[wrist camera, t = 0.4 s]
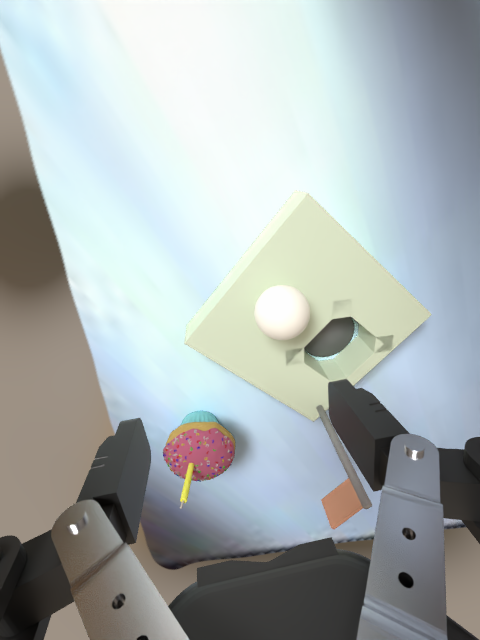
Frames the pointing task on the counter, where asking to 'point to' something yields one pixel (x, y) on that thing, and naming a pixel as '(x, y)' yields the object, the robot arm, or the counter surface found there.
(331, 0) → the counter surface
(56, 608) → the robot arm
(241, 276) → the board
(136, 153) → the counter surface
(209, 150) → the counter surface
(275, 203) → the counter surface
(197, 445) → the cupcake
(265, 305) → the ball
